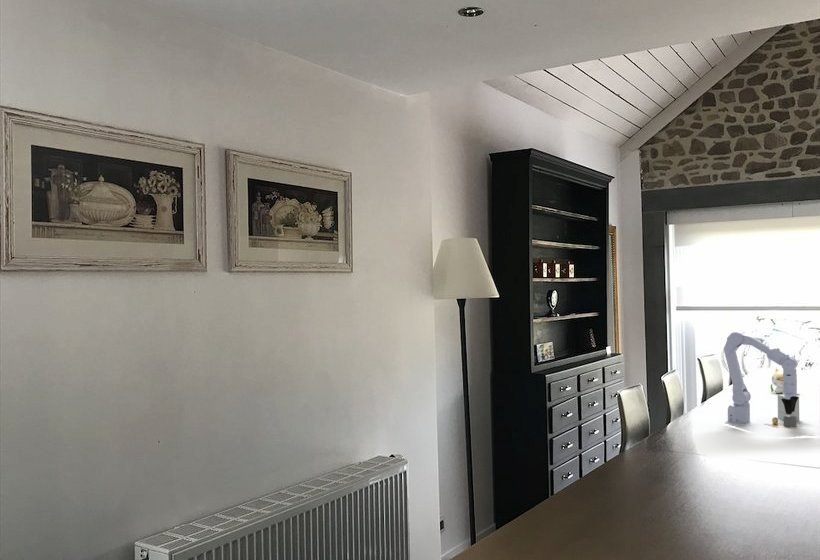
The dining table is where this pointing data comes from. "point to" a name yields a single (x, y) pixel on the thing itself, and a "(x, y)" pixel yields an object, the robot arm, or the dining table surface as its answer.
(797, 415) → the supplement box
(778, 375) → the kitten
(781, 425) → the board
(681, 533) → the dining table surface
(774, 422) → the stud
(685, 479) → the dining table surface
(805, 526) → the dining table surface
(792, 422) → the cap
